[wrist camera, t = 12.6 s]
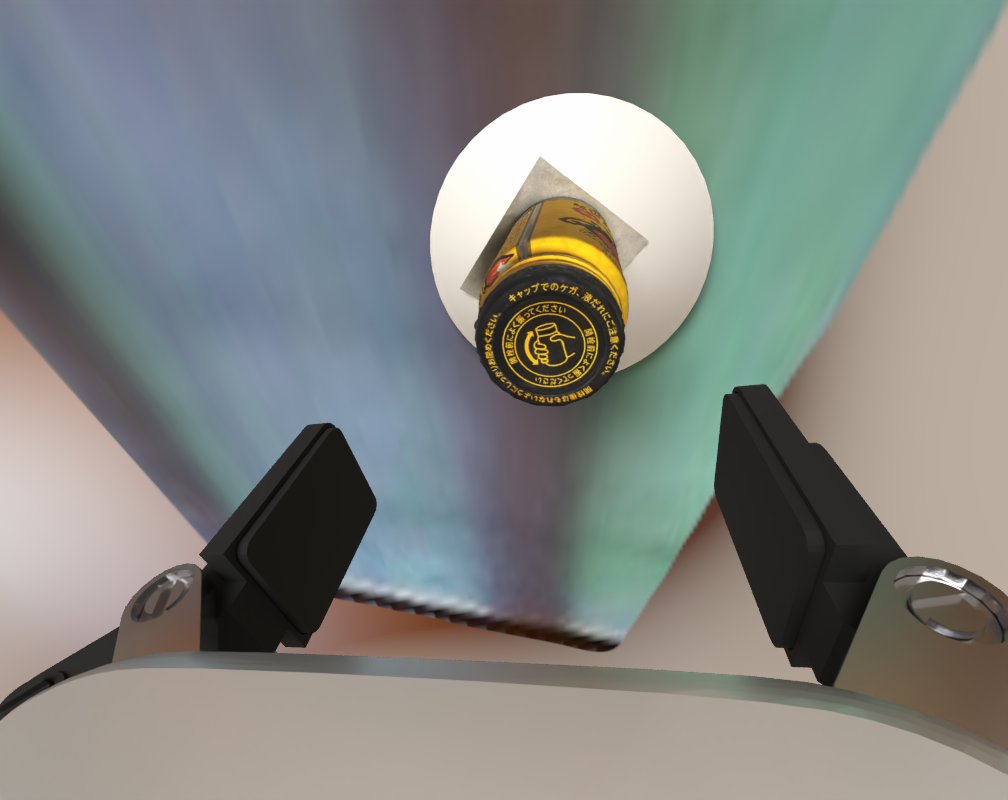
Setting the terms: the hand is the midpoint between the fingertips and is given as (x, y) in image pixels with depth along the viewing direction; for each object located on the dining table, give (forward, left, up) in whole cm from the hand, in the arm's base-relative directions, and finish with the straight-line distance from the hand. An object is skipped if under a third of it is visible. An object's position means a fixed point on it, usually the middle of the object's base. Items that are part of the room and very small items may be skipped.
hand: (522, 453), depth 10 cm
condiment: (0, 0, -17) cm, 17 cm away
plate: (0, 0, -18) cm, 18 cm away
